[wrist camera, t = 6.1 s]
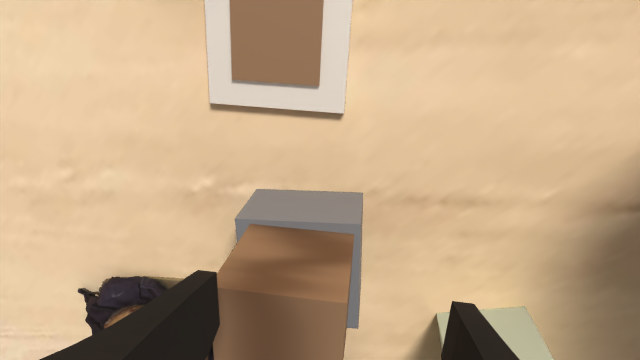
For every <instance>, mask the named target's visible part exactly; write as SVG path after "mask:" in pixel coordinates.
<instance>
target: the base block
mask: <svg viewBox="0 0 640 360" xmlns="http://www.w3.org/2000/svg"><path fill="white" fill-rule="evenodd" d="M362 214H363V193H356V192H328V191H300V190H271V189H257V190H256V191H255V192H254V194H253V195H252V196H251V198H250V199H249V200H248V202H247V203H246V204H245V206H244V207H243V208H242V210H241V211H240V212H239V214H238V215H237V216H236V218H235V225H236V234H237V243H238V241H239V240H240V238H241V237H242V235H243V234H244V232H245V231H246V229H247V228H248V226H249V225H250V224H258V225H268V226H278V227H288V228H298V229H308V230H318V231H328V232H338V233H348V234H354V245H353V258H352V270H351V282H350V294H349V306H348V318H347V328H357V329H358V324H359V307H360V290H361V256H362Z"/></svg>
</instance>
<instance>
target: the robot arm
mask: <svg viewBox="0 0 640 360" xmlns="http://www.w3.org/2000/svg"><path fill="white" fill-rule="evenodd" d="M219 326H220V317H219V301H218V286H217V272H209V271H201V270H198V271H196V272H194V273H193V274H191V275H190V276H188V277H186V278H185V279H183V280H182V281H180V282H179V283H177V284H176V285H174V286H173V287H172V288H170V289H169V290H167V291H166V292H164V293H162V294H161V295H159V296H158V297H156V298H155V299H153V300H152V301H150V302H149V303H147V304H146V305H144V306H142V307H141V308H139V309H137V310H136V311H134V312H132V313H131V314H129V315H127V316H126V317H124V318H122V319H121V320H119V321H117V322H116V323H114V324H112V325H111V326H109V327H107V328H105V329H103V330H101V331H100V332H98V333H96V334H94V335H92V336H90V337H88V338H86V339H84V340H82V341H80V342H78V343H76V344H74V345H72V346H70V347H67V348H65V349H63V350H61V351H58V352H56V353H54V354H51V355H49V356H47V357H44V358H42V359H40V360H205V359H206V357H207V356H208V353H209V351H210V349H211V346H212V344H213V341H214V339H215V336H216V333H217V331H218V328H219ZM441 358H442V360H520V359H519V358H518V357H517V356H516V355H515V353H514V352H513V351H512V350H511V349H510V348H509V346H508V345H507V344H506V343H505V342H504V340H503V339H502V338H501V337H500V336H499V334H498V333H497V332H496V331H495V329H494V328H493V327H492V326H491V325H490V323H489V322H488V321H487V320H486V318H485V317H484V316H483V315H482V313H481V312H480V311H479V310H478V308H477V307H476V306H475V305H474V304H471V303H463V302H455V301H452V304H451V309H450V314H449V319H448V324H447V329H446V334H445V339H444V344H443V349H442V354H441Z"/></svg>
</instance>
